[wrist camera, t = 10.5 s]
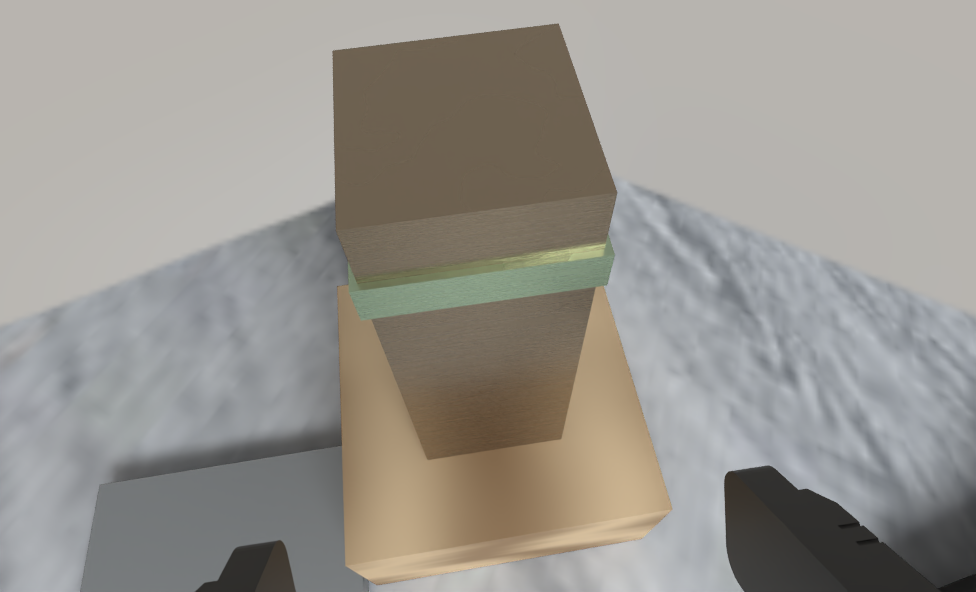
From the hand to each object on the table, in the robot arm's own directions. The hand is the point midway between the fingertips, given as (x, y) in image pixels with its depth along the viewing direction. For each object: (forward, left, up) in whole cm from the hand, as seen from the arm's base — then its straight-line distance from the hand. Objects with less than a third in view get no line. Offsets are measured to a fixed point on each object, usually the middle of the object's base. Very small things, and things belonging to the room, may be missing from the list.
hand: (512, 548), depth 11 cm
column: (-1, -6, -8) cm, 10 cm away
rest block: (-1, -6, -13) cm, 14 cm away
